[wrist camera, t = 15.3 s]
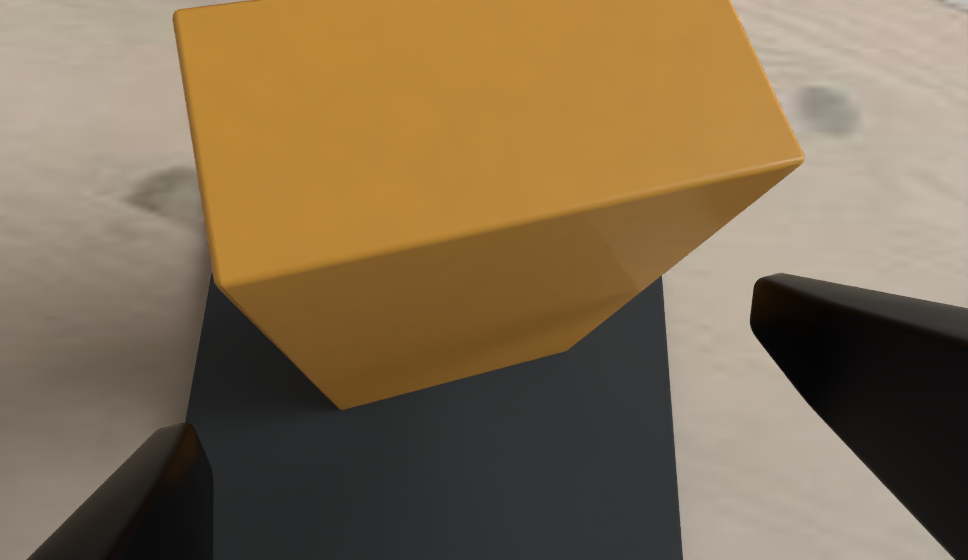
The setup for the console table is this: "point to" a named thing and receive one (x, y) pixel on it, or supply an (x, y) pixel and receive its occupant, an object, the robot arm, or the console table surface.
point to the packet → (464, 170)
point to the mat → (444, 453)
